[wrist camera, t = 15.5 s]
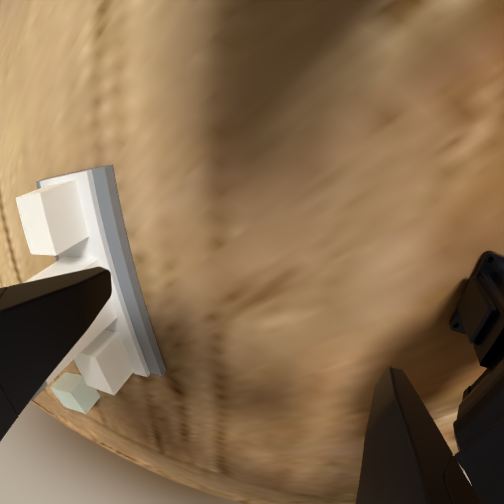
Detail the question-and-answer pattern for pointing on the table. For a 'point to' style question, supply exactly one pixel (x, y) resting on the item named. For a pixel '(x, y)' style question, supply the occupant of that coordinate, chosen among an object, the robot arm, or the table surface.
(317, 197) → the table surface
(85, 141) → the table surface
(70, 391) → the box
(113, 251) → the board
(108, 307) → the block
